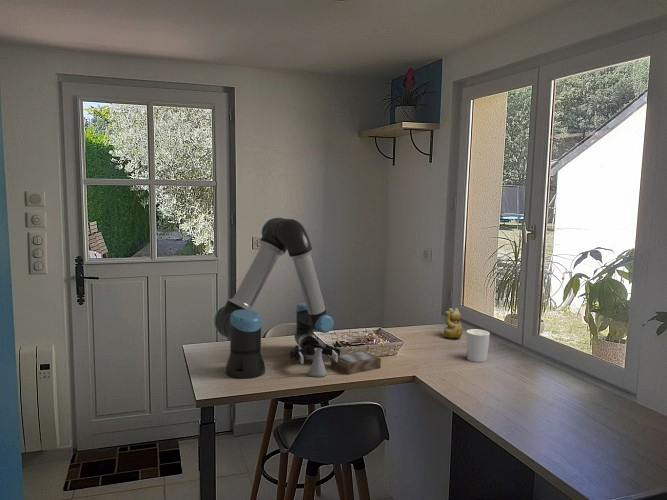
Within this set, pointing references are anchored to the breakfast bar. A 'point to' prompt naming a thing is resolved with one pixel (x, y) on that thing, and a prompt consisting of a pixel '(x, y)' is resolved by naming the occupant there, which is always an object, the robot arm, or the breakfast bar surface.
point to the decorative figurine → (453, 324)
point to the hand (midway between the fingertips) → (319, 359)
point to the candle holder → (477, 345)
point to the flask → (317, 365)
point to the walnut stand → (356, 362)
